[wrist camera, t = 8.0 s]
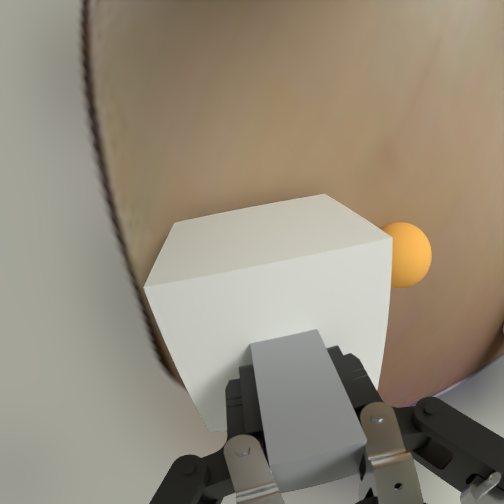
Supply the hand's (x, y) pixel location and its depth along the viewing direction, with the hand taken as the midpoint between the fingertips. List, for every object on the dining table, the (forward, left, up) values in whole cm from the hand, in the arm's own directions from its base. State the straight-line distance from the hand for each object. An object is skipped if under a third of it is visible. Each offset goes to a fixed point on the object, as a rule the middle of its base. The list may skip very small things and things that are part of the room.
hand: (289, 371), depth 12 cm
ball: (0, +11, -8) cm, 14 cm away
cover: (0, 0, -10) cm, 10 cm away
